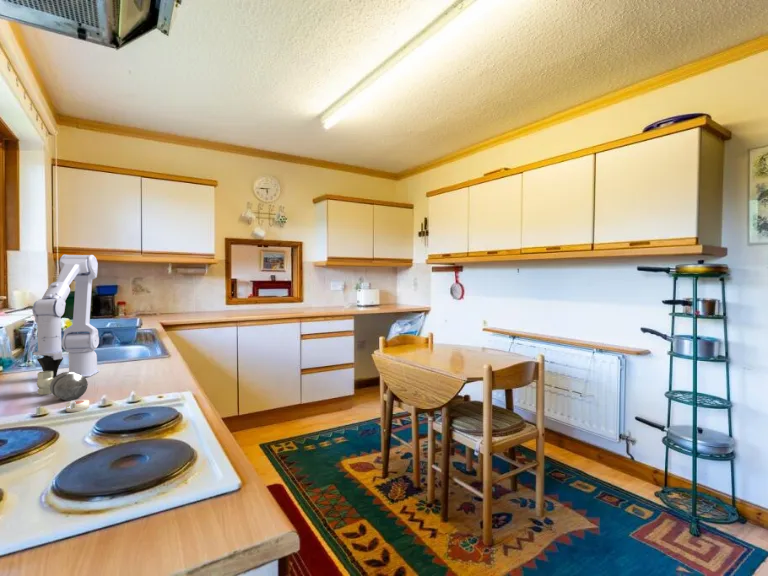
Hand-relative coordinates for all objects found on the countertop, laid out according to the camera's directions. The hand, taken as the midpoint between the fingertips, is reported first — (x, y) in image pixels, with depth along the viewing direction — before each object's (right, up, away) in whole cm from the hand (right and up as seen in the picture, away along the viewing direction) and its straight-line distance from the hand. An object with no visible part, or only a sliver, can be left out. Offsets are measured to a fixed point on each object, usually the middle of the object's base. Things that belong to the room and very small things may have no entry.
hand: (50, 379), depth 127 cm
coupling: (+13, -4, -9) cm, 16 cm away
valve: (+5, -4, -4) cm, 7 cm away
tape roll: (+22, -4, -18) cm, 29 cm away
